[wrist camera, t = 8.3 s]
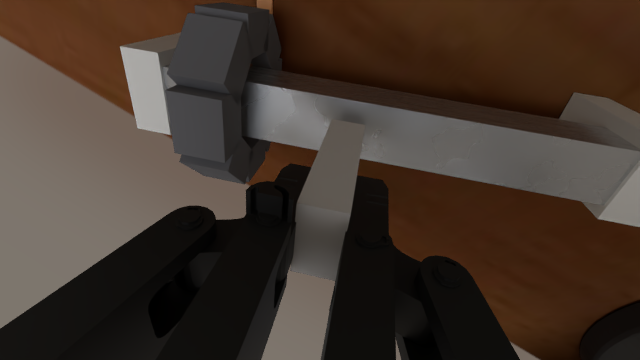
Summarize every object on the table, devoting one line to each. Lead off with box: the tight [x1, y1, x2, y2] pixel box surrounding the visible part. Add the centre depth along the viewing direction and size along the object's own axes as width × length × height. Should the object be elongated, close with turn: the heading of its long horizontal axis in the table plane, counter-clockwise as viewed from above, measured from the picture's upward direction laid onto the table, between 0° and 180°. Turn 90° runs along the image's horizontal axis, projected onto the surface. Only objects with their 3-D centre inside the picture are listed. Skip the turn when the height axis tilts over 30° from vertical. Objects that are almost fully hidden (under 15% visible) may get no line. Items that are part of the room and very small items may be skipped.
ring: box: [165, 3, 282, 184], centre depth 17 cm, size 2×9×9 cm, turn 173°
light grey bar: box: [163, 64, 640, 206], centre depth 17 cm, size 25×3×3 cm, turn 83°
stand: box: [120, 0, 640, 227], centre depth 18 cm, size 27×10×7 cm, turn 83°
